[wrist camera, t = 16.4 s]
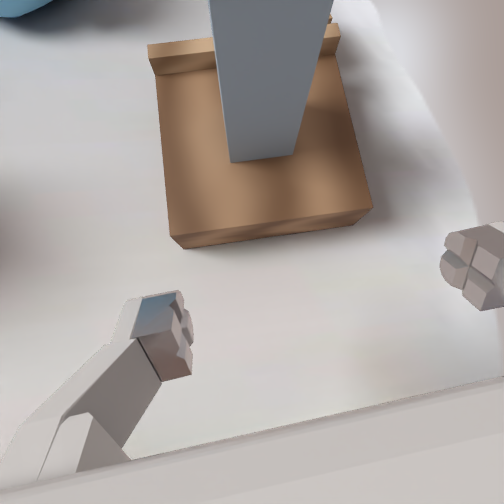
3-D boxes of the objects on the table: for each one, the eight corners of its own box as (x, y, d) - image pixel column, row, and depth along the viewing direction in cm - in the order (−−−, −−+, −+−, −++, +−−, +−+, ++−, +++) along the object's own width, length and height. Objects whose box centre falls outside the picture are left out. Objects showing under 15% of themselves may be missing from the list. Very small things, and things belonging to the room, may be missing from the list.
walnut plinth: (183, 249, 23) (163, 229, 18) (168, 100, 26) (147, 44, 21) (353, 225, 24) (382, 199, 19) (319, 81, 27) (337, 22, 21)
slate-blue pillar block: (230, 163, 21) (204, -36, 9) (222, 108, 22) (189, -137, 10) (292, 154, 21) (347, -52, 9) (282, 100, 22) (319, -149, 10)
